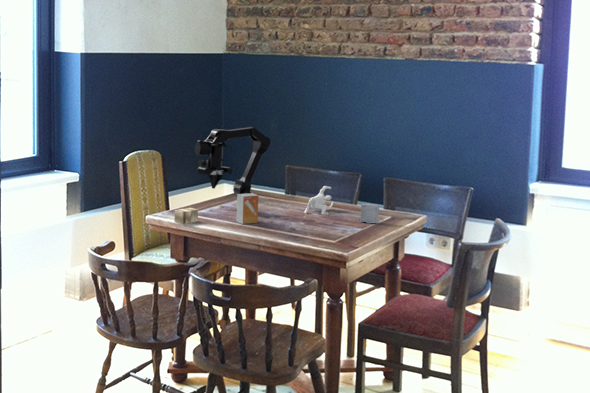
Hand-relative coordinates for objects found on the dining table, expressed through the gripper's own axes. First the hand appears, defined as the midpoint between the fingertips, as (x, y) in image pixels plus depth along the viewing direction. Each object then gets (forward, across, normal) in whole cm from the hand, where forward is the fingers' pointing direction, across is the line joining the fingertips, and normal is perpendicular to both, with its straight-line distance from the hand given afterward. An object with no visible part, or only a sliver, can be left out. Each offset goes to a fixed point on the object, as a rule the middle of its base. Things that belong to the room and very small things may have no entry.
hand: (213, 188), depth 314 cm
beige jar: (+11, +14, +2) cm, 18 cm away
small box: (+12, 0, +22) cm, 25 cm away
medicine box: (+8, -41, +63) cm, 76 cm away
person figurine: (+9, -46, +32) cm, 56 cm away
